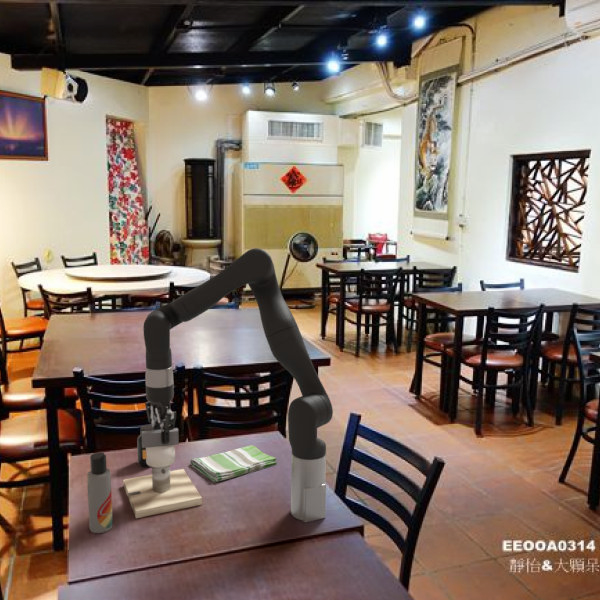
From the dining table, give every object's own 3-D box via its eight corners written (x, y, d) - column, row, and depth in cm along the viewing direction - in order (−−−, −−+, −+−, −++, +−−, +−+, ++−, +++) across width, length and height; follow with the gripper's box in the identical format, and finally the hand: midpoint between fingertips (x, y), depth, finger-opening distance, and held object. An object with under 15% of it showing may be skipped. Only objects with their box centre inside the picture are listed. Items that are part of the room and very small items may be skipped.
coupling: (177, 453, 173) (176, 424, 172) (179, 465, 166) (179, 434, 164) (142, 457, 171) (141, 427, 169) (142, 469, 163) (142, 438, 162)
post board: (201, 504, 165) (201, 470, 163) (136, 518, 157) (134, 483, 155) (183, 474, 183) (183, 444, 181) (123, 485, 175) (122, 454, 173)
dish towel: (189, 465, 191) (188, 455, 190) (249, 448, 204) (249, 438, 204) (215, 485, 177) (215, 474, 177) (278, 466, 191) (278, 455, 190)
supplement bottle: (156, 467, 187) (155, 431, 185) (135, 467, 187) (134, 431, 185) (161, 458, 194) (161, 423, 192) (141, 458, 194) (140, 423, 192)
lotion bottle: (116, 527, 152) (114, 454, 149) (96, 536, 148) (93, 461, 145) (105, 519, 156) (102, 447, 153) (85, 527, 152) (81, 454, 149)
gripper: (184, 385, 162) (186, 444, 165) (158, 374, 172) (160, 430, 175) (160, 391, 157) (162, 452, 160) (135, 379, 167) (137, 437, 170)
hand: (161, 440), depth 167 cm, fingers closed on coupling, 3 cm apart
